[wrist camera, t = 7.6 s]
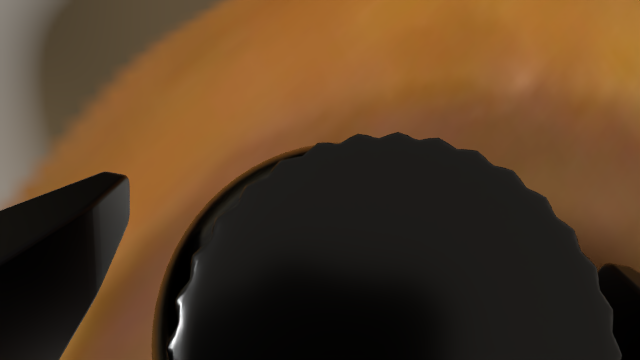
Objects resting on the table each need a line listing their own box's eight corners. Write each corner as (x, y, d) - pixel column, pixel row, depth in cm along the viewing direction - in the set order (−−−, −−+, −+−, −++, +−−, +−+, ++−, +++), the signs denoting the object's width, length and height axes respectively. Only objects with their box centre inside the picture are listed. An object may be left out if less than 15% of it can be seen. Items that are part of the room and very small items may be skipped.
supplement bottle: (325, 174, 18) (427, -61, 6) (456, 324, 17) (855, 379, 5) (166, 303, 16) (-94, 316, 5) (302, 475, 15) (397, 1007, 4)
